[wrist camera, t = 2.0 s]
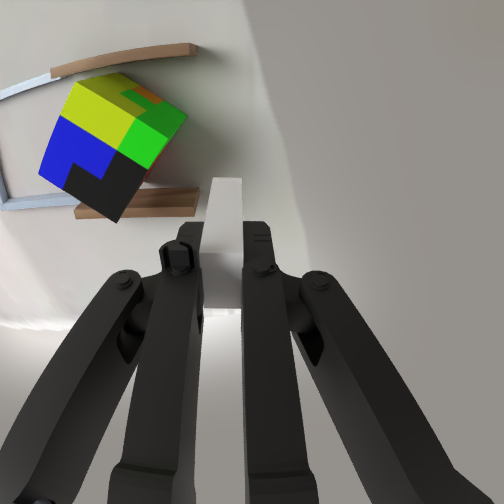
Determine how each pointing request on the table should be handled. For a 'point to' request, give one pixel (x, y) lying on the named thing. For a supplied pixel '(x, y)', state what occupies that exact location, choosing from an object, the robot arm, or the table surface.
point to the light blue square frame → (3, 203)
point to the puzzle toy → (108, 141)
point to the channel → (144, 200)
